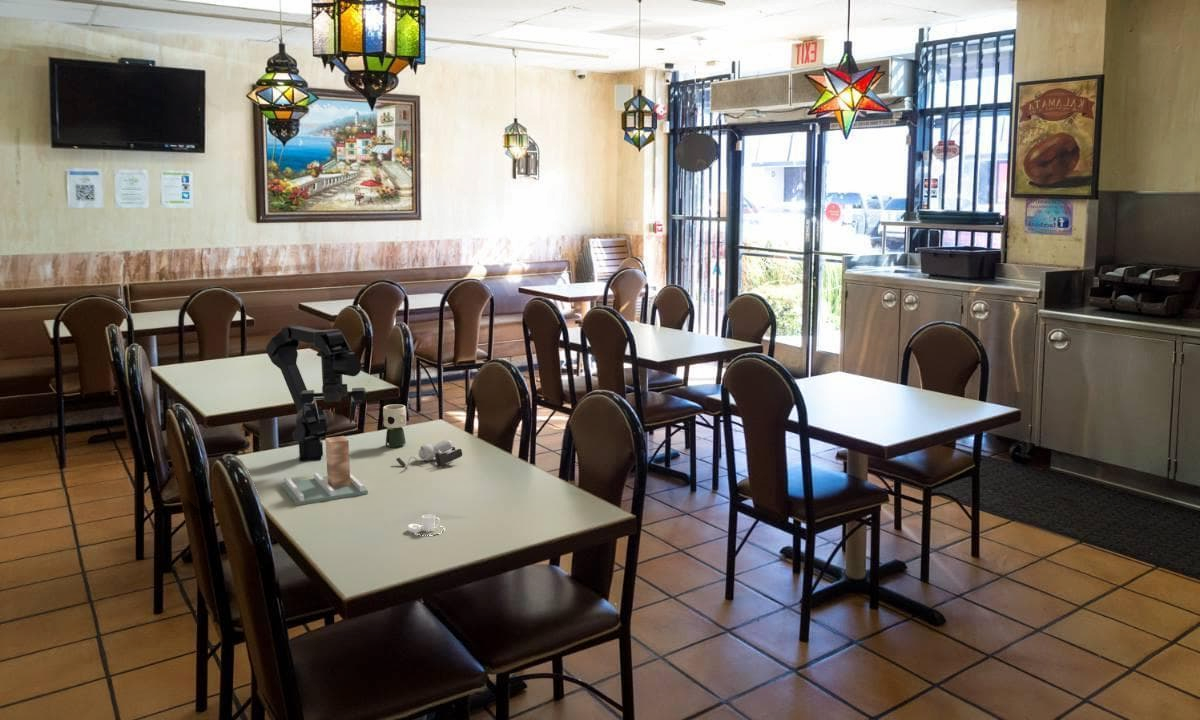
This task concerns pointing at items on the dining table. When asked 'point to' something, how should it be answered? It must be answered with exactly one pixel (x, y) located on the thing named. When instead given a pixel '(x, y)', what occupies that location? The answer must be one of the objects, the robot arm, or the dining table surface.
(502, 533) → the dining table surface
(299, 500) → the slot board
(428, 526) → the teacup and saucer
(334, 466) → the plug block
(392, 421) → the character mug
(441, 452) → the clip-on lamp
